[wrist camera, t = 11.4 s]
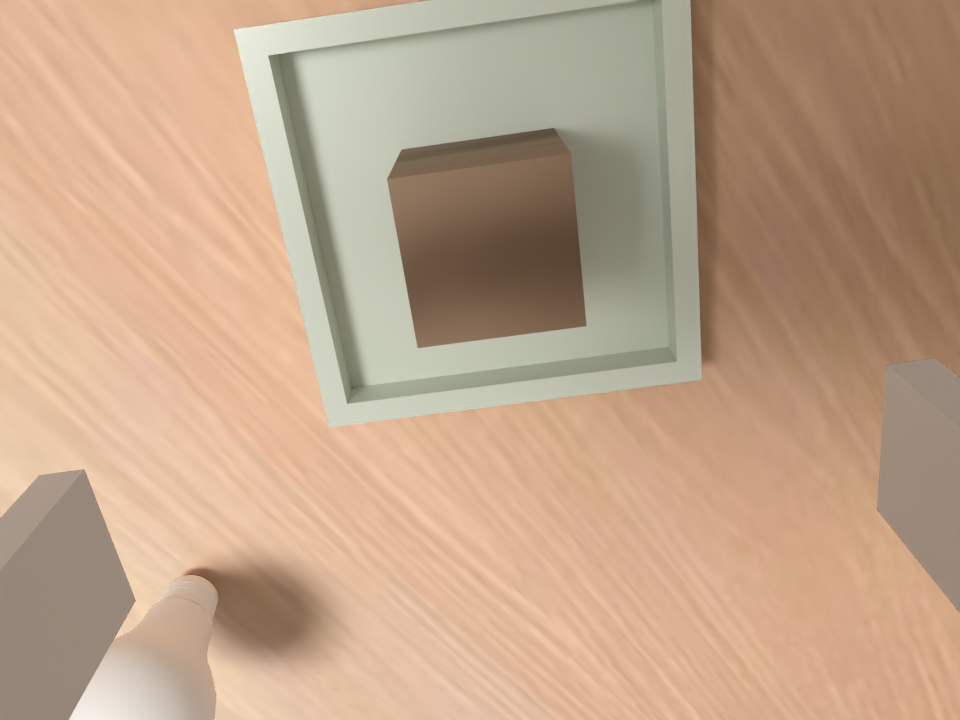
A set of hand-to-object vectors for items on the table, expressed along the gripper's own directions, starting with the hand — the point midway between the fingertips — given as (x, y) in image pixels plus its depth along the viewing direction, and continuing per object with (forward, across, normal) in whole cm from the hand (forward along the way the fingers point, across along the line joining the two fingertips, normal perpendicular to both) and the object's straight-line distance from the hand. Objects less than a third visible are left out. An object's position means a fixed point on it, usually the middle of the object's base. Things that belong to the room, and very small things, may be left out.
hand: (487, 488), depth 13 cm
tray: (+22, 0, 0) cm, 22 cm away
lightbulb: (+22, -17, -17) cm, 32 cm away
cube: (+21, 0, 0) cm, 21 cm away
